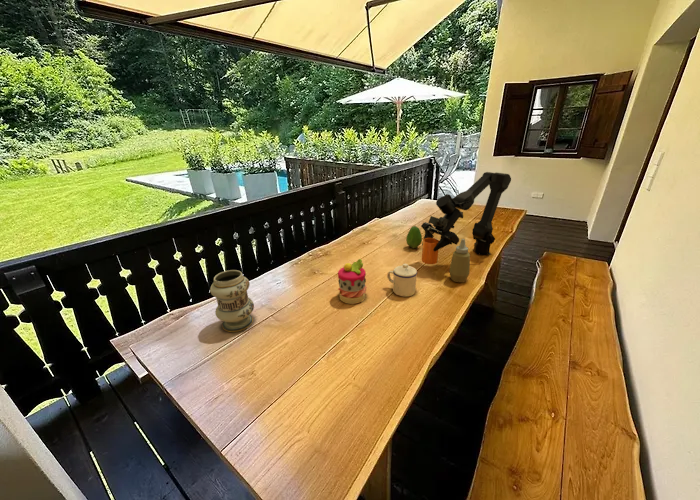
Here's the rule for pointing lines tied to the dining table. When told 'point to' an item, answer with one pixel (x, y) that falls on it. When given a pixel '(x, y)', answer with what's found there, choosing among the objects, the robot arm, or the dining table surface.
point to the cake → (352, 282)
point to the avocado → (414, 237)
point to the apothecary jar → (232, 300)
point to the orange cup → (429, 251)
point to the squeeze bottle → (460, 263)
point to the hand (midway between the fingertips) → (428, 248)
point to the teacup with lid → (403, 280)
